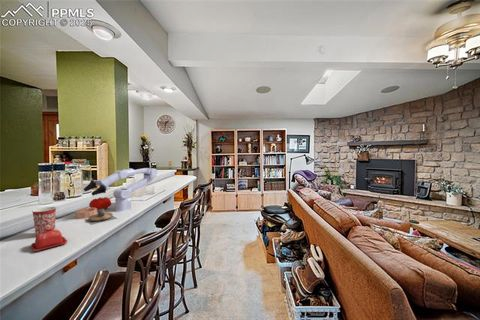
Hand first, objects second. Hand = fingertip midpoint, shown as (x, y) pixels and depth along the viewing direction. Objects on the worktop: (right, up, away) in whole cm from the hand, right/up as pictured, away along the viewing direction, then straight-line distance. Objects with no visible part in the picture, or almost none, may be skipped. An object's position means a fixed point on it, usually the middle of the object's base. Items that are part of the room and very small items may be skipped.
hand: (88, 192), depth 127 cm
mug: (-7, -19, -20) cm, 28 cm away
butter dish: (+8, -20, -34) cm, 40 cm away
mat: (+8, -17, 0) cm, 19 cm away
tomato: (-8, -17, +23) cm, 29 cm away
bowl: (-5, -17, +6) cm, 19 cm away
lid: (+8, -17, 0) cm, 19 cm away
